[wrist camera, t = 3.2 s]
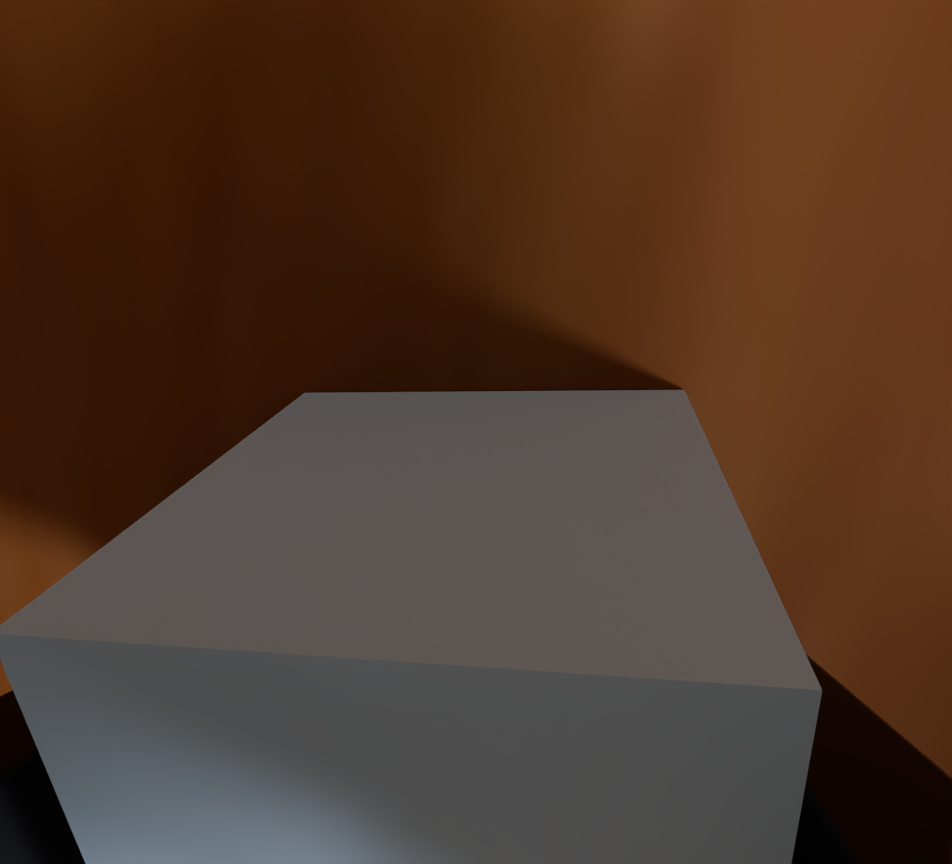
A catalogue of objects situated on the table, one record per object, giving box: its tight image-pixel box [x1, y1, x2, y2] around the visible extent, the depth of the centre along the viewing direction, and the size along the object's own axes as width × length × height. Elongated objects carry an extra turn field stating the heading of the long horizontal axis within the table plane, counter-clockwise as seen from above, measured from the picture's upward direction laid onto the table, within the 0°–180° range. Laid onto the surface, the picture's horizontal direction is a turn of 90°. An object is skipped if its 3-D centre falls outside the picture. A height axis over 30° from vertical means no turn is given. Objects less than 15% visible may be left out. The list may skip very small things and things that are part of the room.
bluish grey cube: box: [0, 390, 822, 864], centre depth 7 cm, size 5×5×5 cm
